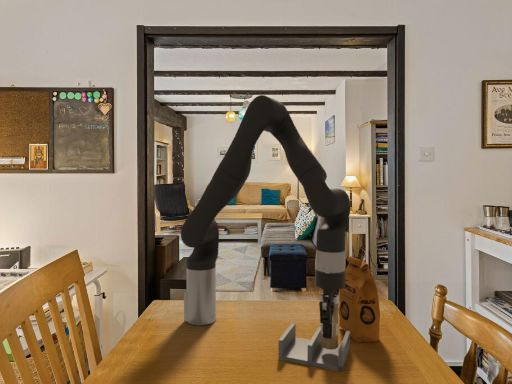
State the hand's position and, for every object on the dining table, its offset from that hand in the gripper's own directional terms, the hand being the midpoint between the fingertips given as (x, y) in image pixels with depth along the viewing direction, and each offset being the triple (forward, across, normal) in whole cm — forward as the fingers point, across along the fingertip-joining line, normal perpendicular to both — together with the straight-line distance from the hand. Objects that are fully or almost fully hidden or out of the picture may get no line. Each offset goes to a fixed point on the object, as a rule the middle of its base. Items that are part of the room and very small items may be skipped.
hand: (329, 333), depth 97 cm
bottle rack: (+6, 0, -4) cm, 7 cm away
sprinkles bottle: (+3, 0, 0) cm, 3 cm away
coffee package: (+6, -17, +5) cm, 19 cm away
